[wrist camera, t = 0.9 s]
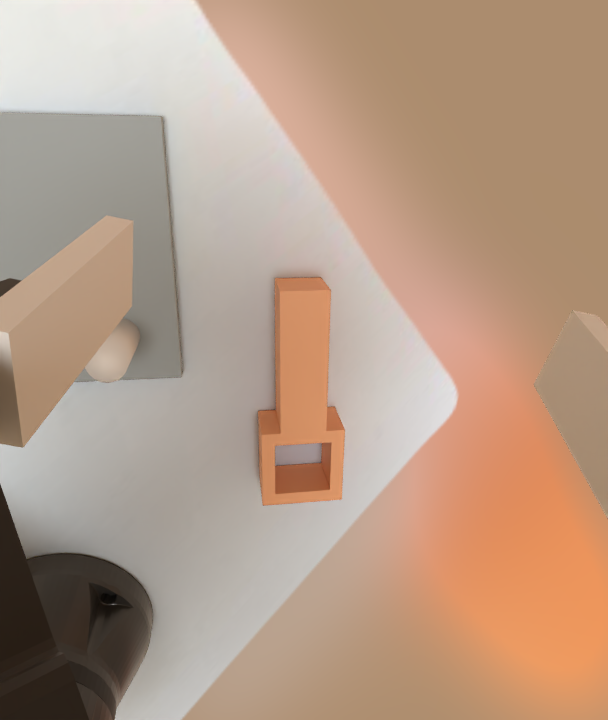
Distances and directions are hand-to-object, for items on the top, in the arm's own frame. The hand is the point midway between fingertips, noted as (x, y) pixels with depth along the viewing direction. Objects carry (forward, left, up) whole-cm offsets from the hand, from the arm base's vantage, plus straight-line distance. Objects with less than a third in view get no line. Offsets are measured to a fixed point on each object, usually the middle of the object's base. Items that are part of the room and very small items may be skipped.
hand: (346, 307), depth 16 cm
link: (-13, -2, -24) cm, 27 cm away
